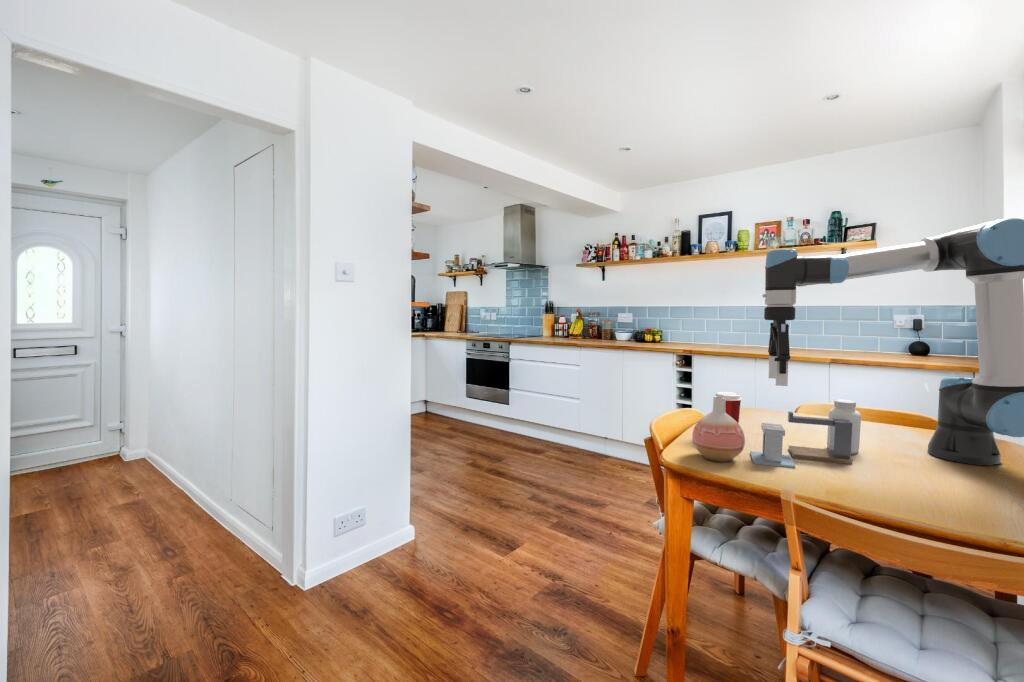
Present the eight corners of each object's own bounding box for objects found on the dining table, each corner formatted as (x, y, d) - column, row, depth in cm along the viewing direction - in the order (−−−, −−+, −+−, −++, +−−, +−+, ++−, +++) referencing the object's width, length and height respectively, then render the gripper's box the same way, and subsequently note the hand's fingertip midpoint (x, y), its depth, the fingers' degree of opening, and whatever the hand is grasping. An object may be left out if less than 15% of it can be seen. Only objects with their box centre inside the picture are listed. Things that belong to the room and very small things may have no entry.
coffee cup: (734, 436, 158) (736, 391, 156) (744, 443, 149) (746, 396, 148) (708, 435, 158) (710, 391, 157) (716, 442, 150) (718, 395, 149)
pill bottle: (830, 452, 141) (832, 402, 139) (824, 445, 148) (826, 397, 147) (862, 455, 138) (865, 404, 136) (854, 447, 145) (857, 399, 144)
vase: (683, 458, 134) (685, 397, 133) (702, 448, 144) (704, 391, 143) (734, 470, 125) (736, 404, 124) (750, 458, 135) (753, 396, 134)
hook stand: (843, 454, 138) (845, 413, 137) (852, 464, 130) (854, 420, 129) (784, 449, 144) (786, 409, 143) (789, 457, 135) (791, 415, 135)
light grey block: (779, 455, 135) (781, 424, 135) (783, 463, 129) (785, 430, 128) (760, 453, 137) (761, 422, 137) (762, 461, 131) (764, 428, 130)
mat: (789, 457, 136) (789, 455, 136) (795, 468, 127) (795, 466, 127) (750, 453, 140) (750, 451, 140) (753, 463, 130) (753, 461, 130)
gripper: (759, 306, 145) (757, 375, 146) (771, 306, 122) (768, 388, 123) (787, 305, 142) (785, 376, 144) (804, 305, 119) (802, 389, 120)
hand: (777, 381), depth 133 cm, fingers open, 13 cm apart
